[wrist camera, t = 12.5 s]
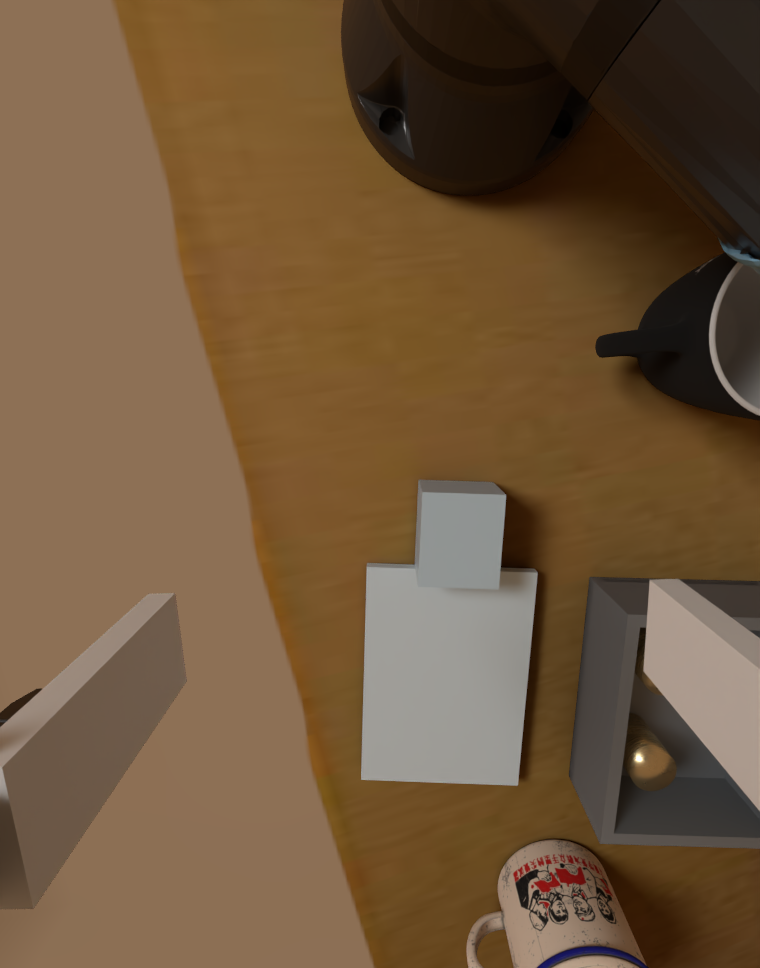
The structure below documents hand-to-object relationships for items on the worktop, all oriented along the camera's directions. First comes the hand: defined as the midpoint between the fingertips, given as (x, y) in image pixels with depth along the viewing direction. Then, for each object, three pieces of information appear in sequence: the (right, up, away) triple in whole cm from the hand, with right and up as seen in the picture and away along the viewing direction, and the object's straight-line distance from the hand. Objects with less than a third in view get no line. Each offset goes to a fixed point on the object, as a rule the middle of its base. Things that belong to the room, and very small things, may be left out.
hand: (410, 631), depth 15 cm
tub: (+20, -10, +24) cm, 33 cm away
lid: (+4, -7, +24) cm, 25 cm away
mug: (+17, +13, +19) cm, 29 cm away
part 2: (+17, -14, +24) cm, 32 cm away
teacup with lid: (+11, -28, +28) cm, 41 cm away
